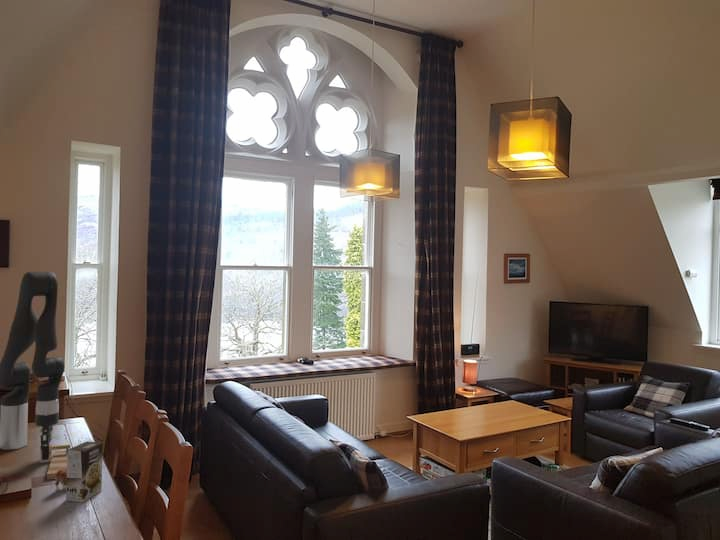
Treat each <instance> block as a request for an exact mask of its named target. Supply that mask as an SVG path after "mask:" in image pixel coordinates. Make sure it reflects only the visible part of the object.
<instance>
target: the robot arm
mask: <svg viewBox="0 0 720 540" xmlns="http://www.w3.org/2000/svg"><path fill="white" fill-rule="evenodd" d="M58 284H59V283H58V278H57V276H56V274H55V273H54V272H53V271H28V272H25V273H24V274H23V276H22V278H21V282H20V287H19V293H18V300H17V305H16V310H15V313H14V317H13V321H12V323H11V326H10V330H9V333H8V338H7V342H6V346H5V349H4V352H3V356H2V358H1V360H0V388H1V389H3V388H13V387H15V388H14V389H13V390H12V391H11V392H9V393H7V394H5V395H3V396H2V397H1V399H0V450H7V451H9V450H18V449H22V448H25V447H26V446H27V445H28V415H29V412H28V411H29V396H30V387H31V376H32V375H31V373H32V374H33V376H34V377H35V378H37V379H42V378H43V379H44V378H48V379H47V380H46V381H44V382H41V383H40V384H38V386H37V387H36V402H35V415H34V417H35V419H34V420H35V422H34V424H35V426H37V427H42V428H41V429H40V430H39V435H40V438H39V439H40V441H39V442H40V446H41V450H42V460H47V459H48V458H49V448H50V447H49V444H50V442H52V440H53V433H54V426H55V425H58V423H59V420H60V419H59V414H60V412H59V411H60V410H59V409H60V405H59V404H60V402H59V389H60V384H61V381H62V377H63V375H64V372H65V362H64V360H63V358H61V357H60V356H50V357H47V356H48V353H49V352H53V351H55V350H57V348H58V340H57V339H58V338H57V331H56V330H57V328H56V327H57V325H56V322H57V321H56V320H57V318H56V317H57V307H58V306H57V305H58V289H59V288H58V286H59V285H58ZM34 297H45V298H44V300H45V301H44V302H45V303H44V308H43V310H42V312H41V314H40V316H39V318H38V317H37V315H36V313H35V311H34V309H33V306H32V304H33V303H32V302H33V299H34ZM33 344H34V345H35V350H34V356H33V359H32V363H31V364H32V365H31V366H30V365H29V363H28V362H24V361H23V362H22V361H21V362H17V360H18V359H19V358H20V357H21V356H22V355H23V354H24V353H25V352H26V351H28V350H29V348H30V347H31V346H32V345H33ZM43 444H47V446H43Z"/></svg>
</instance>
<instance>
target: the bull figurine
mask: <svg viewBox="0 0 720 540" xmlns="http://www.w3.org/2000/svg"><path fill="white" fill-rule="evenodd" d="M55 477H56V479H55V481H56V482H55V483H54V485H55V491H56V490H57V492H59V491H60V488H59V484H60V485H61V488H62V489H64V488H66V481H67V467H65V468H62V469H60V470H59V471H57V473H56V475H55ZM58 490H59V491H58Z"/></svg>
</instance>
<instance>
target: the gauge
mask: <svg viewBox="0 0 720 540" xmlns="http://www.w3.org/2000/svg"><path fill="white" fill-rule="evenodd" d="M43 446H47V444H43ZM49 447H50V448H49V458H48V459H47V460H42V450H41V445H40V446H39V449H40V450H39V451H40V452H39V463H42V464H43V463H51V459H52V456H53V451H60V450H66V453H68V449H70V448H72V447H71V444H70V443H69V444H61V445H60V444H59V445H58V444H57V445H53V442H52V441H51V442H50V444H49Z"/></svg>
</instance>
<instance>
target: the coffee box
mask: <svg viewBox="0 0 720 540" xmlns="http://www.w3.org/2000/svg"><path fill="white" fill-rule="evenodd" d="M103 450H104V442H102V441H101V442H100V441H99V442H98V441H84V442H82V443H80V444H77V445H75V446H72V447H70V449H68V457H67V481H66V487H65V490H66V491H65V501H68V502H76V503H84V502H87V501H88V500H89V499H91V498H93V497H95V496H96V495H98V494H99V493H101V492H102V483H103V482H102V480H103V454H104V451H103Z"/></svg>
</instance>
